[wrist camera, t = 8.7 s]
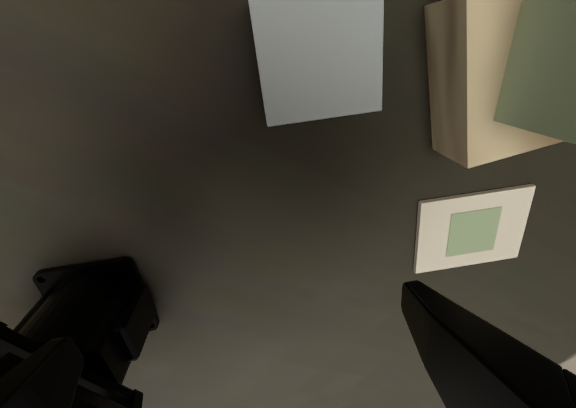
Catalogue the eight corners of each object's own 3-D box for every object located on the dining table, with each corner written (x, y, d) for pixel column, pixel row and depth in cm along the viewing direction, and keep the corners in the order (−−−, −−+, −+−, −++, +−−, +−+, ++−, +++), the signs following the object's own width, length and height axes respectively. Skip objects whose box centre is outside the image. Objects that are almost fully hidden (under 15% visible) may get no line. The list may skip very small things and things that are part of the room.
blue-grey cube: (264, 107, 18) (267, 126, 13) (248, 4, 15) (246, -15, 11) (350, 95, 18) (381, 110, 13) (347, -8, 16) (384, -32, 11)
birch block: (429, 147, 20) (467, 168, 16) (420, 6, 16) (466, -6, 13) (552, 112, 20) (618, 125, 16) (570, -40, 16) (660, -66, 13)
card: (413, 270, 24) (416, 274, 23) (418, 200, 21) (422, 204, 21) (513, 254, 24) (518, 258, 24) (531, 183, 21) (537, 186, 21)
